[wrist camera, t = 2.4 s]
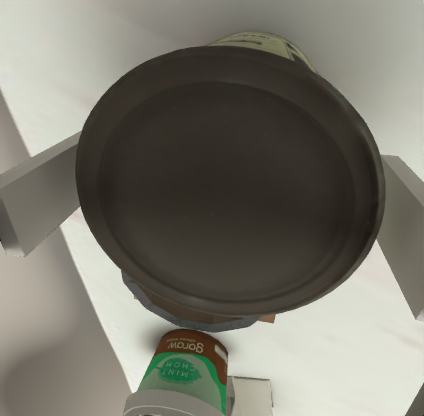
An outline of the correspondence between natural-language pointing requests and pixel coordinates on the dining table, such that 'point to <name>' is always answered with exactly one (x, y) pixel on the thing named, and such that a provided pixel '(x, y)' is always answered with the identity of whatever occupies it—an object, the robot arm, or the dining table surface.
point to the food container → (183, 378)
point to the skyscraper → (248, 397)
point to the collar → (185, 312)
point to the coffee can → (231, 178)
